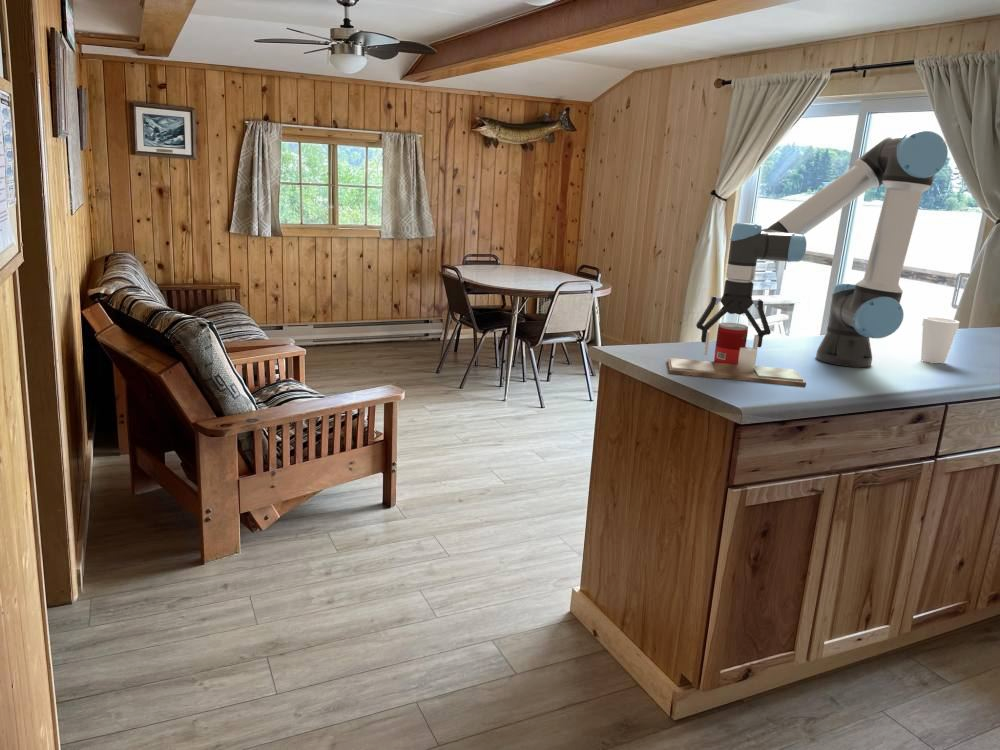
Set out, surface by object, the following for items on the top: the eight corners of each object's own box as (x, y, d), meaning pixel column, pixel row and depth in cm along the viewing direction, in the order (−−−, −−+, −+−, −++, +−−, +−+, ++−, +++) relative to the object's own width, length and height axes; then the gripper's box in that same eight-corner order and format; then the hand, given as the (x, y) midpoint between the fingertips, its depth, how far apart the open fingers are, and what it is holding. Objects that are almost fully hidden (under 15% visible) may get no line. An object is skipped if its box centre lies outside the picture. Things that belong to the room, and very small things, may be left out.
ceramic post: (752, 369, 200) (756, 347, 198) (755, 373, 196) (758, 351, 194) (735, 368, 201) (739, 346, 199) (738, 372, 196) (741, 349, 195)
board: (794, 373, 203) (795, 368, 203) (805, 386, 190) (806, 381, 189) (667, 361, 208) (668, 356, 208) (669, 373, 195) (670, 368, 195)
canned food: (744, 367, 206) (749, 328, 203) (714, 364, 207) (719, 326, 205) (741, 361, 213) (746, 324, 210) (712, 358, 215) (717, 321, 212)
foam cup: (948, 360, 230) (957, 319, 227) (952, 366, 222) (961, 324, 219) (914, 356, 234) (922, 315, 231) (916, 362, 226) (924, 320, 222)
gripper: (783, 282, 206) (772, 357, 211) (692, 275, 210) (683, 349, 215) (789, 285, 199) (777, 363, 204) (694, 278, 203) (685, 354, 208)
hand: (729, 356), depth 210 cm, fingers open, 12 cm apart
